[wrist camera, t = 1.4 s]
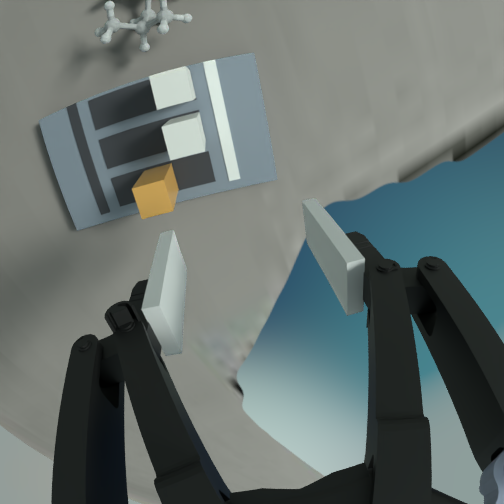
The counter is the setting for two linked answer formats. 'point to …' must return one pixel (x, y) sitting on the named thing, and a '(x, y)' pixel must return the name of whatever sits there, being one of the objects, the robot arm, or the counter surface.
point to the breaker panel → (162, 137)
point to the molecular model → (140, 22)
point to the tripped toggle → (156, 191)
